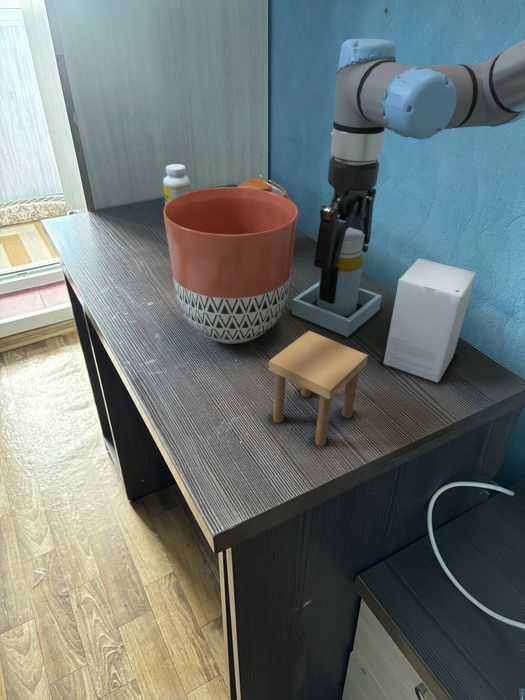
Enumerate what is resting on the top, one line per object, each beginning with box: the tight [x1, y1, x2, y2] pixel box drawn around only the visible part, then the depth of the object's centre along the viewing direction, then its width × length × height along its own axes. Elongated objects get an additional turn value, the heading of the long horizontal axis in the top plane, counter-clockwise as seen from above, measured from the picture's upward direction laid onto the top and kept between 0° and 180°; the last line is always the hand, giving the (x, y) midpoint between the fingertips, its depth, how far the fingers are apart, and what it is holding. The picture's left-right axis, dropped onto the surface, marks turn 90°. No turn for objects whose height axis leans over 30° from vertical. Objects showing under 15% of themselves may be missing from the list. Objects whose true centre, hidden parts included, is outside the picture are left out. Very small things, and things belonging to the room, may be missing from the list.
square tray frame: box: [291, 281, 383, 338], centre depth 93 cm, size 12×12×3 cm
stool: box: [268, 330, 369, 447], centre depth 68 cm, size 9×9×10 cm
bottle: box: [316, 228, 365, 318], centre depth 89 cm, size 7×7×15 cm
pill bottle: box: [162, 163, 191, 205], centre depth 128 cm, size 6×6×12 cm
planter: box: [162, 186, 299, 345], centre depth 81 cm, size 20×20×21 cm
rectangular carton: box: [382, 257, 478, 383], centre depth 78 cm, size 9×9×15 cm
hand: (338, 292), depth 91 cm, fingers closed on bottle, 7 cm apart
